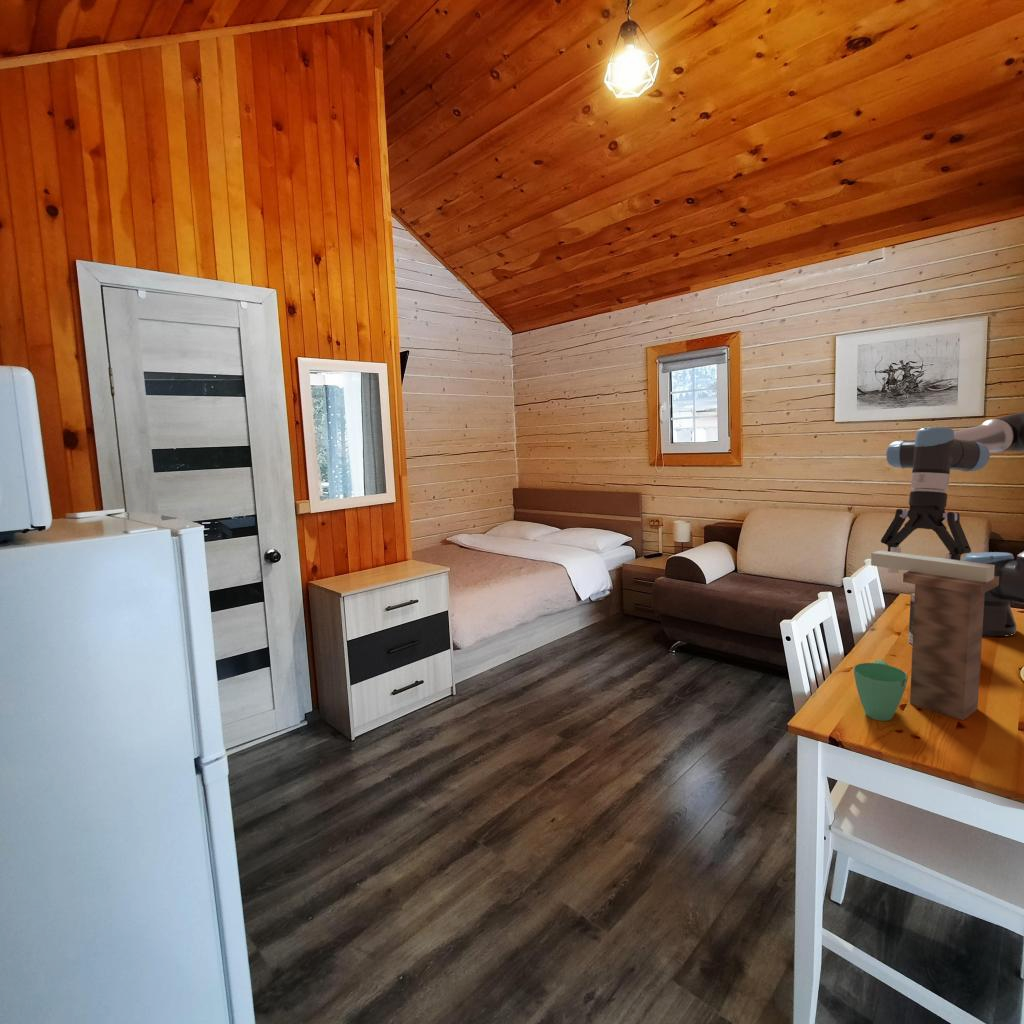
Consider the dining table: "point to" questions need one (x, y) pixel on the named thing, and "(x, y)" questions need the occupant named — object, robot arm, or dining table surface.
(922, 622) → the pedestal
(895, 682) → the mug
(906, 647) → the dining table surface
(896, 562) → the stick
